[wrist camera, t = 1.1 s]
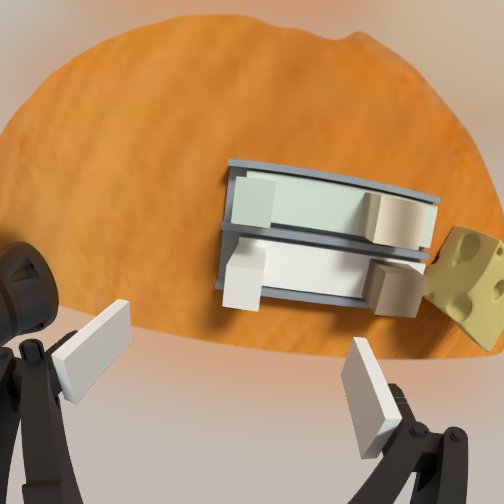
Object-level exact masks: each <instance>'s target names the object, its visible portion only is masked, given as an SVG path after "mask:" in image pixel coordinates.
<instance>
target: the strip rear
mask: <svg viewBox="0 0 504 504" xmlns="http://www.w3.org/2000/svg"><path fill="white" fill-rule="evenodd" d="M370 259H377V260H383V261H390V262H397V263H403V264H409V265H410V266H411V267H413V268H414V269H416V270H417V271H418V272H420V273H421V274H422V275H423V273H424V269H425V266H426V264H424V263H423V262H418V261H412V260H406V259H399V258H393V257H387V256H380V255H374V254H367V253H361V252H354V251H347V250H341V249H334V248H327V247H320V246H313V245H306V244H299V243H292V242H285V241H278V240H271V239H264V238H257V237H249V236H242V235H240V237H239V244H238V245H237V247H236V249H235V251H234V253H233V254H232V256H231V258H230V260H229V262H228V263H227V265H226V274H225V284H224V295H223V305H222V306H224V307H231V308H237V309H244V310H251V311H258V309H259V302H260V295H261V288H262V286H269V287H276V288H283V289H291V290H299V291H307V292H315V293H323V294H331V295H339V296H348V297H357V298H363V297H362V292H363V288H364V284H365V280H366V276H367V271H368V267H369V263H370Z"/></svg>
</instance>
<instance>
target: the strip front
mask: <svg viewBox="0 0 504 504" xmlns="http://www.w3.org/2000/svg"><path fill="white" fill-rule="evenodd" d="M365 192H368V193H374V194H379V195H385V196H389V197H394V198H398V199H402V200H407V201H411V202H415V203H419V204H423V205H427V209H426V215H425V220H424V226H423V231H422V236H421V240H420V245H419V246H421V247H427V248H430V244H431V240H432V235H433V230H434V225H435V220H436V214H437V208H438V206H435V205H432V204H428V203H424V202H420V201H416V200H412V199H407V198H403V197H399V196H395V195H390V194H386V193H381V192H376V191H371V190H367V189H362V188H357V187H352V186H346V185H341V184H335V183H330V182H324V181H318V180H312V179H306V178H299V177H293V176H286V175H279V174H271V173H264V172H256V171H247V177H238V176H236V184H235V192H234V201H233V209H232V218H231V223H234V224H241V225H249V226H256V227H264V228H270V224H271V222H272V223H279V224H287V225H293V226H300V227H307V228H314V229H320V230H327V231H333V232H340V233H346V234H352V235H358V236H363V235H361V234H360V233H358V232H359V227H360V221H361V216H362V210H363V203H364V197H365Z"/></svg>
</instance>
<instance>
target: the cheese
mask: <svg viewBox="0 0 504 504" xmlns="http://www.w3.org/2000/svg"><path fill="white" fill-rule="evenodd" d="M423 275H424V276H425V277H427V278H428V279H427V283H426V286H425V290H424V293H423V296H422V297H424V298H425V299H427V300H429V301H430V302H432V303H433V304H434V305H435V306H436V307H437V308H438V309H439V310H441V311H442V312H444V313H445V314H446V315H447V316H449V317H450V318H451V319H452V320H453V321H454V322H455V323H456V324H457V326H458V327H459V328H460V329H461V330H462V331H463V332H464V333H465V334H466V335H467V336H468V337H469V338H471V339H472V340H473V341H474V342H475V343H476V344H478V345H479V346H480V347H481V348H483V349H484V350H485V351H486V352H489V351H490V350H491V349H492V347H493V346H494V344H495V343H496V341H497V339H498V338H499V336H500V334H501V333H502V331H503V329H504V244H503V243H502V241H501V240H499V239H497V238H495V237H493V236H491V235H488V234H485V233H482V232H479V231H477V230H474V229H471V228H468V227H464V226H458V225H455V226H454V227H453V229H452V230H451V232H450V234H449V236H448V237H447V239H446V241H445V242H444V244H443V246H442V247H441V249H440V253H439V259H438V261H437V262H436V263H435V264H433V265H432V264H431V265H429V267H428V268H427V269H426V270H425V272H424V273H423Z"/></svg>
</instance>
